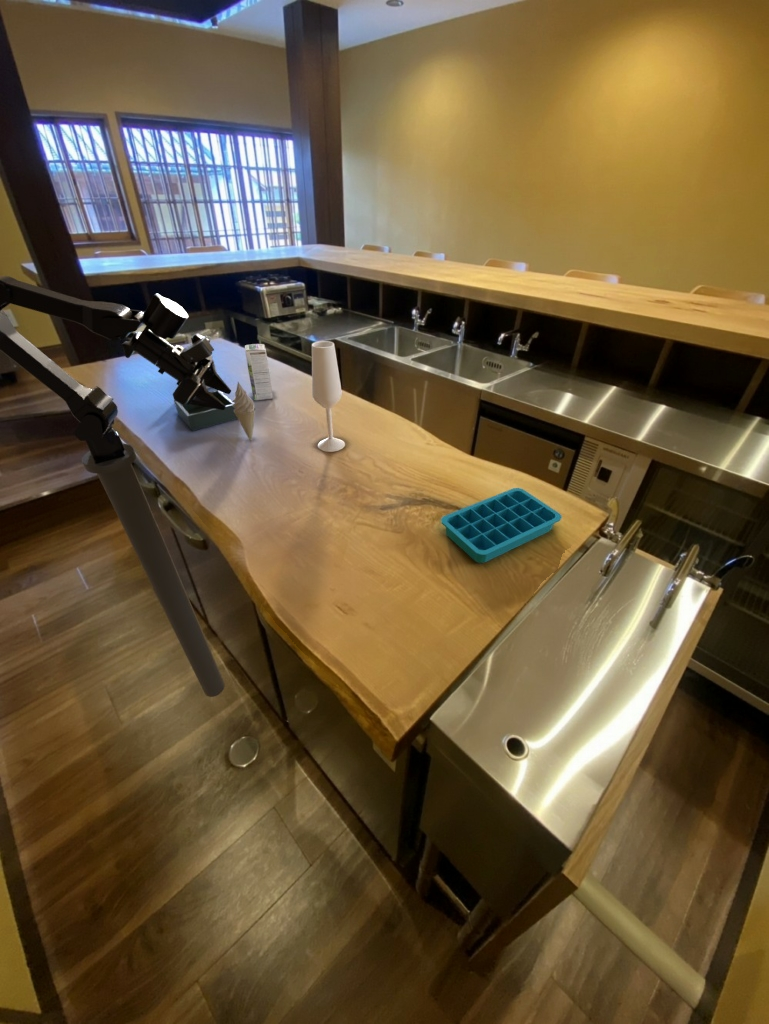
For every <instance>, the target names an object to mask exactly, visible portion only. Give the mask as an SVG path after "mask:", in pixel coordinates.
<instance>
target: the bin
mask: <svg viewBox="0 0 769 1024" xmlns="http://www.w3.org/2000/svg"><path fill="white" fill-rule="evenodd" d="M209 392H210V393H212V394H213V395H214V396H215V397H216V398H217V399H219V400H220V401H221V402H222V403H223V404H224V405H225V406H226V408H225V409H224V410H219V409H214V408H209V407H204V406H198V405H191V404H189V405H187V404H186V403H187V401H188V399H187V401H186V402H185V403H184V405H181V404H179V403H178V402H176V401H175V400H174V399H173V402H174V405H175V409H176V412H177V415H178V416H179V417H180V418H181V419H182V421H183V422H184V423H185V424H186V426H187V427H188V428H189V429H190V430H191V431H192V432H193V431H194V432H195V431H197V430H201V429H205V428H208V427H213V426H216V425H219V424H223V423H226V422H231V421H235V420H238V418H237V416H236V414H235V413H234V409H235V408H234V407H233V406H232V405H233V404H234V403H233V400H232V399H230V397H228V395H227V394H226V393H223V392H221V391H218V390H216V389H215V390H212V391H209Z"/></svg>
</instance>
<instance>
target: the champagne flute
mask: <svg viewBox="0 0 769 1024" xmlns="http://www.w3.org/2000/svg"><path fill="white" fill-rule="evenodd" d="M311 396H312V398H313V400H314V401H315V403H316V404H318V405H319V406H321V407H322V408H324V409H325V414H326V427H327V437H326V438H325V439H323V440H321V441H319V442H318V444H317V448H318V449H319V450H320V451H323V452H329V453H330V452H331V453H333V452H338V451H341V450H342V449H344V448H345V447H346V443H345V441H344V440H342V439H340V438H336V437H334V430H333V419H332V418H333V417H332V408H334V407H335V406H336V405H337V404H338V403H339V401H340V400H341V398H342V396H343V391H342V383H341V378H340V372H339V366H338V360H337V352H336V346H335V343H334V342H333V341H329V340H319V341H318V340H317V341H314V342H312V343H311Z"/></svg>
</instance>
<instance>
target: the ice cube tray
mask: <svg viewBox="0 0 769 1024" xmlns="http://www.w3.org/2000/svg"><path fill="white" fill-rule="evenodd" d="M562 518H563V516H562V514H561V513H560V512H558V511H557V510H555V509H553V508H552V507H550V506H549V505H548V504H546V503H545V502H543V501H542V500H541V499H538V498H537V497H536V496H534V495H533V494H531V493H530V492H528V491H526V490H525V489H523V488H521V487H514V488H513V487H512V488H511V489H508V490H506V491H503V492H501V493H498V494H496V495H493V496H491V497H487V498H485V499H483V500H481V501H478V502H475V503H473V504H471V505H468V506H466V507H463V508H461V509H457V510H456V511H453V512H451V513H448V514H445V515H443V516H442V517H441V518H440V522H441V523H440V524H441V525H443V527H445V535H446V536H447V537H448V538H449V539H450V540H452V542H454V543H455V544H456V545H457V546H458V547H459V548H460V549H461V550H462V551H464V552H465V553H466V554H467V555H468V556H469V557H470V558H471V559H472V560H473V561H474V562H476V563H479V564H483V563H487V562H489V561H491V560H492V559H495V558H497V557H499V556H501V555H503V554H505V553H507V552H510V551H512V550H513V549H515V548H518V547H520V546H522V545H524V544H526V543H528V542H530V541H532V540H535V539H536V538H539V537H540V536H543V535H545V534H547V533H549V532H550V531H552V528H553V526H554V525H555V524H557V523H559V522H560V521H561V520H562Z"/></svg>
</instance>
